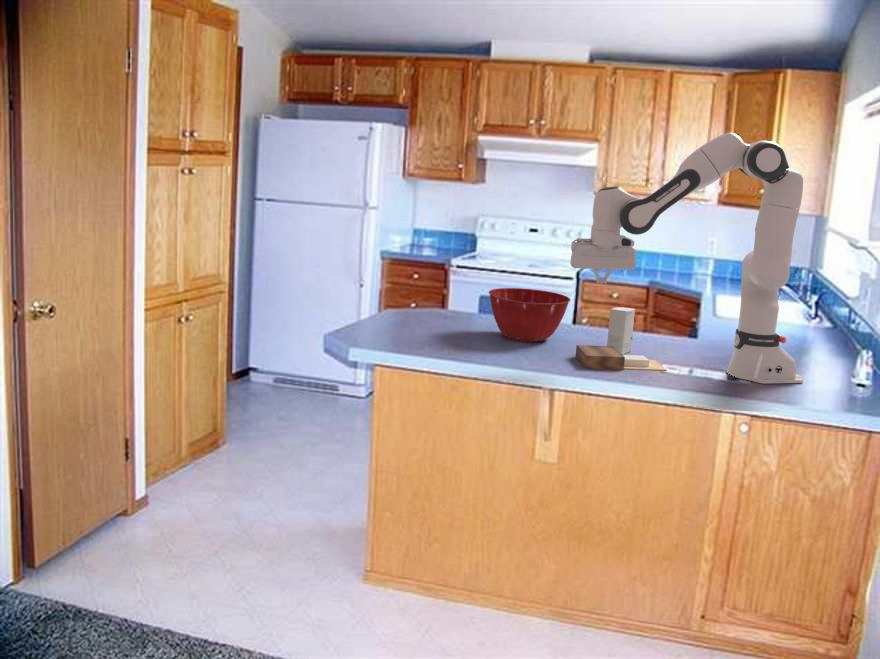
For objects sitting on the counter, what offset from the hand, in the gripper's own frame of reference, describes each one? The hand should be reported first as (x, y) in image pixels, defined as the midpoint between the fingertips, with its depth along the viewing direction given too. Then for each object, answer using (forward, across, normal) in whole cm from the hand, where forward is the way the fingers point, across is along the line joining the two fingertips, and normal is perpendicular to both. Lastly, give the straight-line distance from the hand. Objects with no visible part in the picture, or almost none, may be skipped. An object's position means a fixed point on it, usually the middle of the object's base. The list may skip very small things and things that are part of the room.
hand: (601, 283), depth 275 cm
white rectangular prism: (+25, +11, -3) cm, 28 cm away
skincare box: (+25, +12, +14) cm, 31 cm away
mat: (+25, +14, -3) cm, 29 cm away
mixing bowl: (+25, -18, +29) cm, 42 cm away
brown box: (+25, 0, -3) cm, 25 cm away
